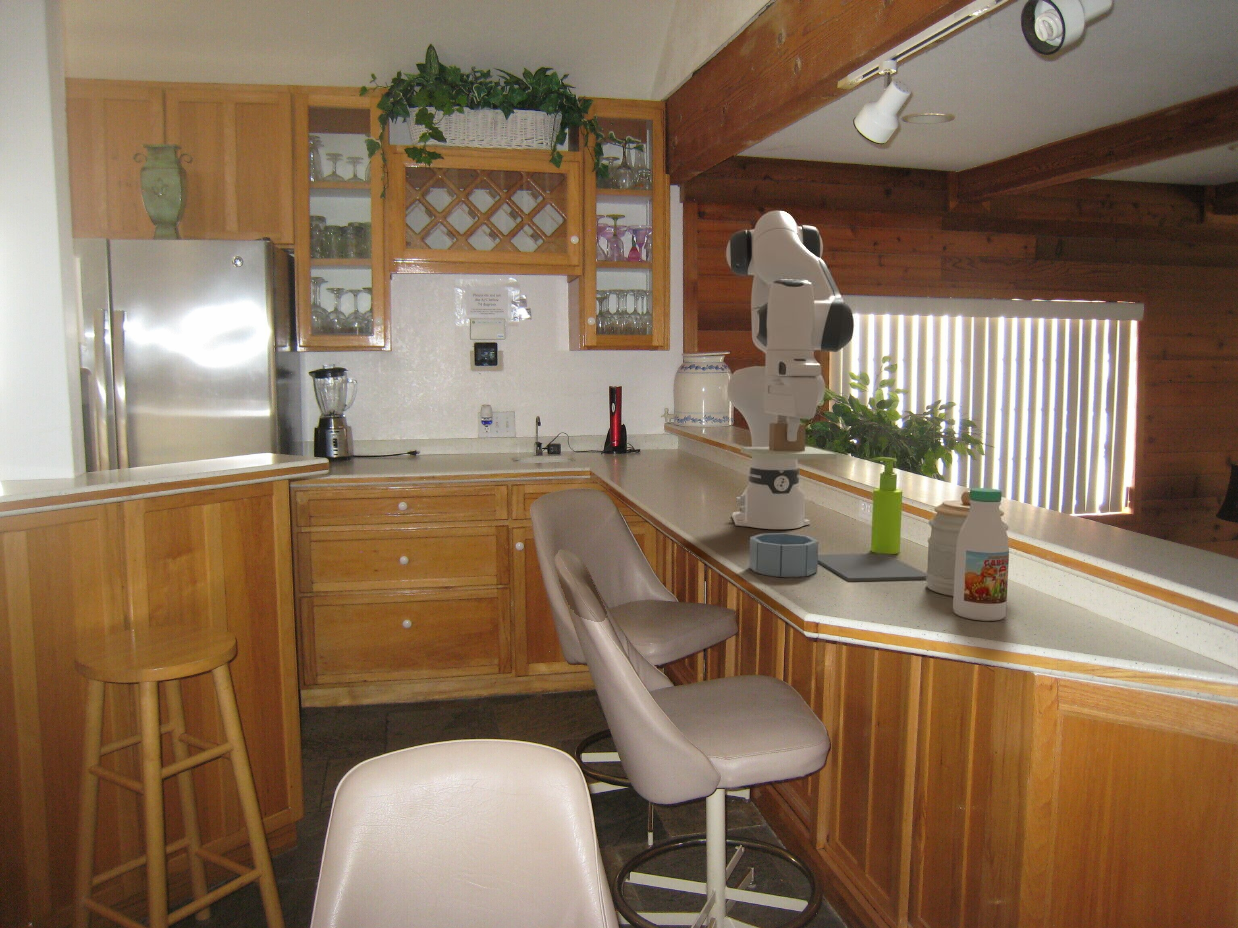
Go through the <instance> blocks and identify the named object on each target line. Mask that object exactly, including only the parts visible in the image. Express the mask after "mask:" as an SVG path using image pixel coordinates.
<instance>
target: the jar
mask: <svg viewBox="0 0 1238 928" xmlns="http://www.w3.org/2000/svg"><path fill="white" fill-rule="evenodd" d="M969 494H970V490H965V491H963V492H962V494H961V496H960V500H959V499H958V500H957V499H956V500H955V499H954V500H946V501H943V502H942V503H941V504H939V505H936V506H935V507H934V508H933V511H934V512H936V513H935V516H934V517H932V518H929V520H928V523H927V524H928V525H929V526H930V528H931V531H930V537H929V538H927V543H928V549H927V568H926V572H925V573H926V580H925V581H926V587H927V588H928V589H929V590H930V591H932V592H936V593H938V594H941V595H945V596H950V597H953V596H954V576H955V560H956V547H957V539H958V535H959V532H960V530H961V528H962V526H963V524H964V522H965V521H966V519H967V516H968V514H969V511H970V507H971V504H970V502H969V501H970V498H969ZM999 512H1000V516H1001V517H1003V516H1004V515H1005V512H1004V511H1003V510H1002V509H1000V508H999ZM1001 520H1002V523H1003V525H1004V527H1005V530H1006V532H1007V531H1008V530H1009V525H1008V524H1007V523H1005V522H1004V521H1003V519H1002V518H1001Z"/></svg>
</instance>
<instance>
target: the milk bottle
mask: <svg viewBox="0 0 1238 928" xmlns="http://www.w3.org/2000/svg"><path fill="white" fill-rule="evenodd" d="M969 491H970V494H969V498H970V501H969V502H970V504H971V507H970V511H969V514H968V516H967V519H966V521H965V522H964V524H963V526H962V528H961V530H960V532H959V535H958V539H957V547H956V560H955V576H954V596H952V597H953V599H952V609H953V613H954V614H955V615H957V616H958V617H962V618H964V619H969V620H976V621H982V622H983V621H986V622H991V621H992V622H993V621H1001V620H1003V619H1005V617H1006V613H1007V603H1008V599H1007V598H1008V583H1009V568H1010V567H1009V561H1010V558H1009V557H1010V543H1009V541H1010V540H1009V536H1008V532H1007V531H1006V530H1005V527H1004V525H1003V523H1002V521H1003V519H1002V516H1000V512H999V509H1000V506H1001V505H1002V495H1003V493H1002V491H1001V490H1000V489H996V488H988V487H987V488H986V487H985V488H984V487H976V488H975V487H972V488H970V490H969ZM1001 519H1002V520H1001Z"/></svg>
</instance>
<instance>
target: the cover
mask: <svg viewBox="0 0 1238 928" xmlns="http://www.w3.org/2000/svg"><path fill="white" fill-rule="evenodd" d="M787 425H788V423H770V431H769V447H752V446H740V453H742V454H745V455H747V456H751V457H752V456H753V457H756V458H759V459H762V460H769V459H798V460H837V453H835V452H832V451H828V450H823V449H820V448H816V447H812V446H806V426H807V425H806V424H805V423H802V422H800V425H799V428H798V431H797V440H796V441H787V440H786V439H785V431H787Z"/></svg>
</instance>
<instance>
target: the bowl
mask: <svg viewBox="0 0 1238 928" xmlns="http://www.w3.org/2000/svg"><path fill="white" fill-rule="evenodd" d="M818 555H819V540H817V539H816V538H813V537H812V536H809V535H804V534H796V533H786V532H779V533H778V532H774V533H773V532H772V533H769V532H768V533H759V534H756V535H753V536H749V566H748V567H749V568H750V569H751V570H752V571H753V572H754V573H757V574H760V575H762V576H763V575H764V576H768V577H775V578H776V577H777V578H803V577H805V578H806V577H809V576H812V575H815V573H817V572H818V565H819V563H818Z"/></svg>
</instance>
